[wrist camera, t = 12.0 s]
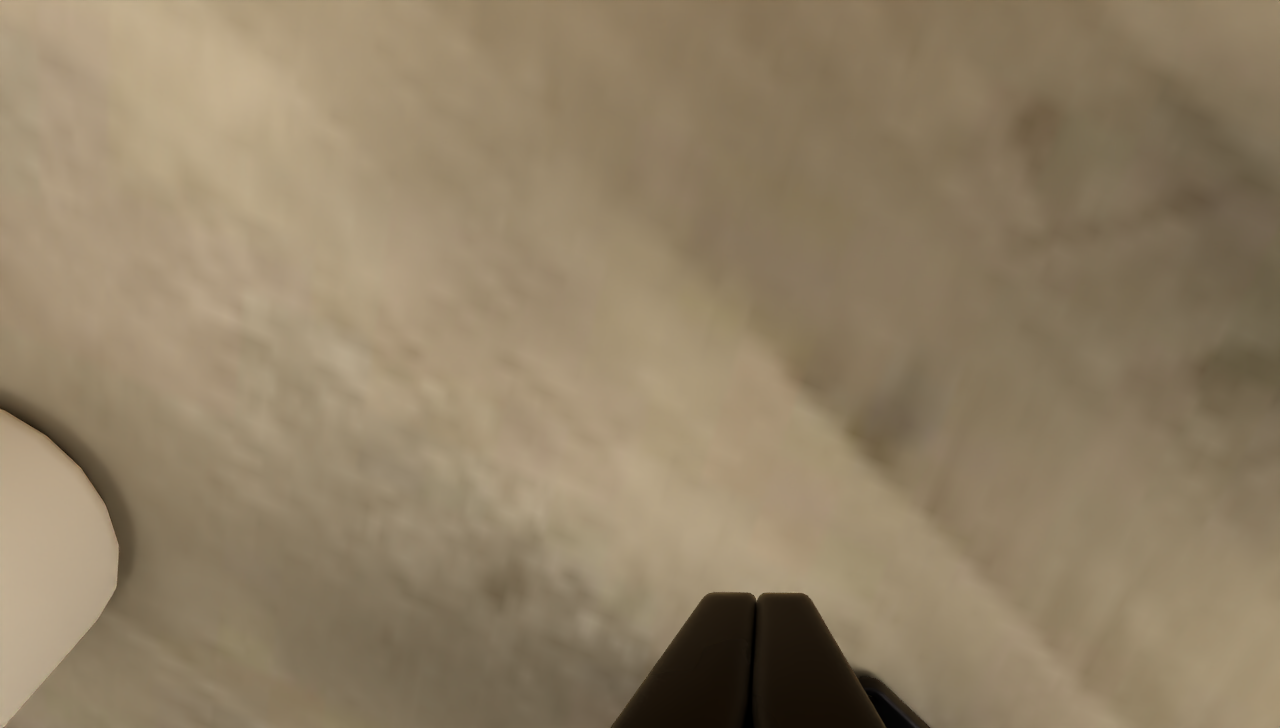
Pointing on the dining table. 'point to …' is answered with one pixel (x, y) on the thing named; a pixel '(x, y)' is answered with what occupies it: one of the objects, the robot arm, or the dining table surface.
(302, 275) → the dining table surface
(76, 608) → the potion bottle
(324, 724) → the dining table surface
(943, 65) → the dining table surface
